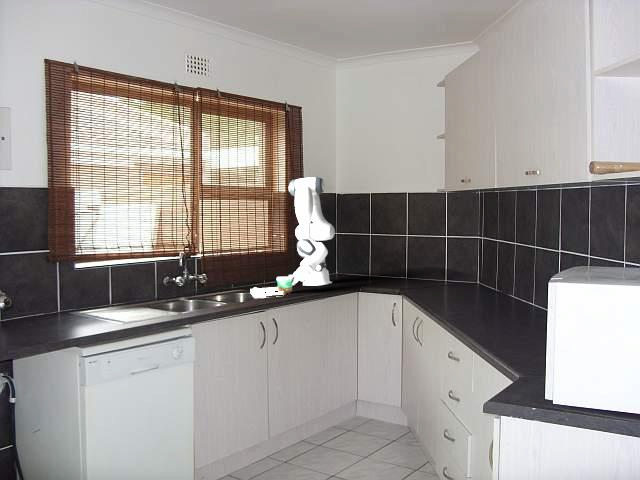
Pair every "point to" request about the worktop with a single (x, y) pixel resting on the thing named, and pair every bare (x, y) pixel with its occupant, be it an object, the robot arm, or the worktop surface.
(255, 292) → the white cutting board
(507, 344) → the worktop surface
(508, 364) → the worktop surface
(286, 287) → the food container
